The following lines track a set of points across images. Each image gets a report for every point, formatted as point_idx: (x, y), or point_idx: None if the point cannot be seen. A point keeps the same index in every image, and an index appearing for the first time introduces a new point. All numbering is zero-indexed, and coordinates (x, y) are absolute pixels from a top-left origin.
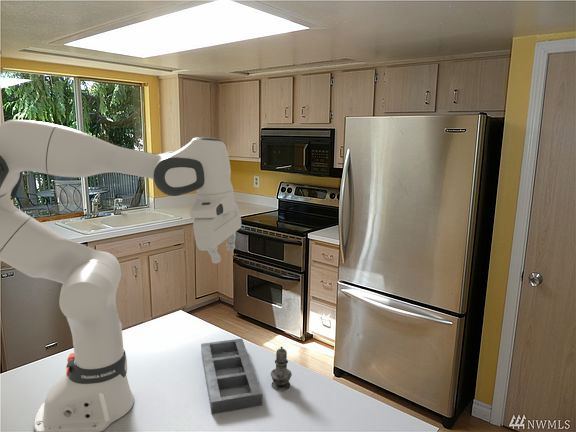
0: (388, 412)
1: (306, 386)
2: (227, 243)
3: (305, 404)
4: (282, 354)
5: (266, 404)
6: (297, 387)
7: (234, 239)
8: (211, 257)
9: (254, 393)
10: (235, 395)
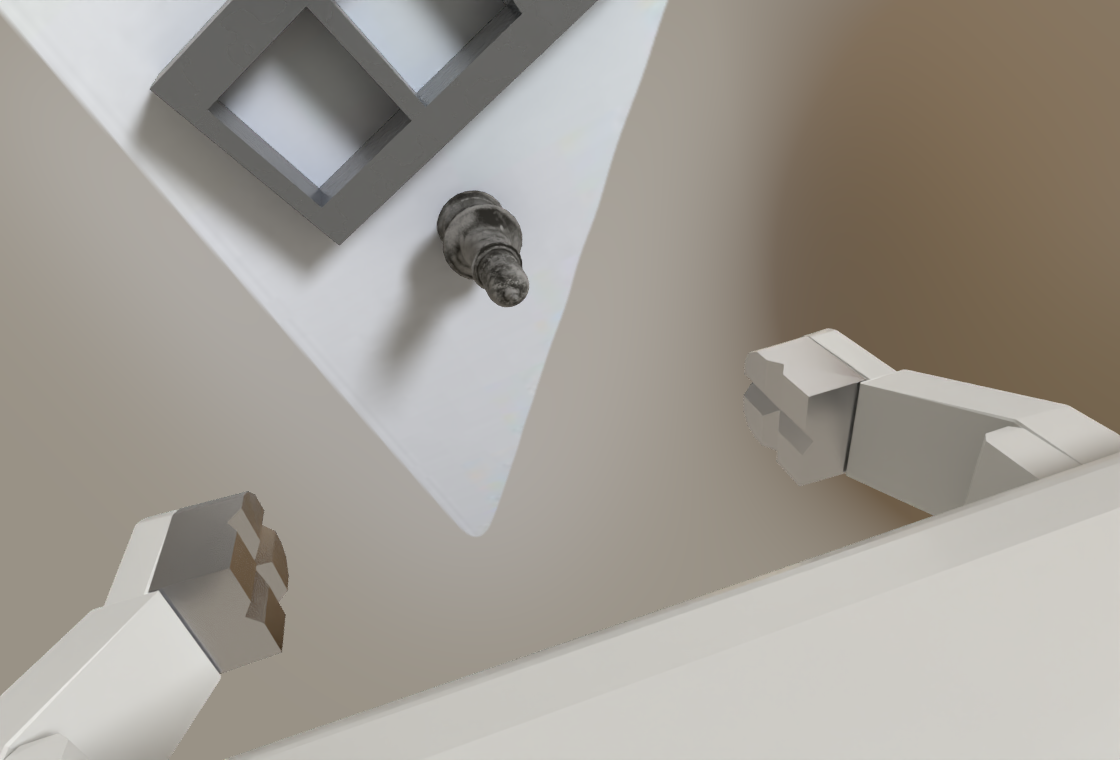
0: (493, 490)
1: None
2: (847, 389)
3: (419, 333)
4: (492, 300)
5: None
6: None
7: (915, 498)
8: (109, 596)
9: (322, 221)
10: (262, 161)
